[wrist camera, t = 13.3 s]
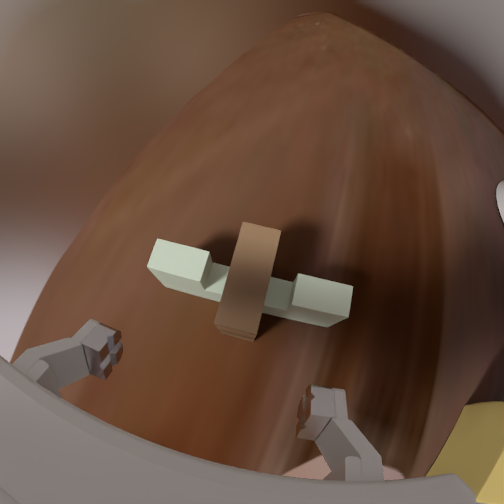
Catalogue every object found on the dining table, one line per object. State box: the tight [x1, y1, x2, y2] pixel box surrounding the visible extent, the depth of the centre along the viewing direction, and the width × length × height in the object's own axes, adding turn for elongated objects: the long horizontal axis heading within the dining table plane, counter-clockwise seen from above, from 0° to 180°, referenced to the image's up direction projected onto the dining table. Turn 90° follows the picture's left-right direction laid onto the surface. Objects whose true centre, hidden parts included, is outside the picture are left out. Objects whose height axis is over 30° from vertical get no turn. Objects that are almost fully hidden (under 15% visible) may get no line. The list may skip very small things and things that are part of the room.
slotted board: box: [147, 239, 353, 327], centre depth 25 cm, size 2×16×6 cm, turn 76°
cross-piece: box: [214, 222, 281, 341], centre depth 24 cm, size 8×3×7 cm, turn 166°
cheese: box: [425, 401, 504, 504], centre depth 16 cm, size 10×11×10 cm
